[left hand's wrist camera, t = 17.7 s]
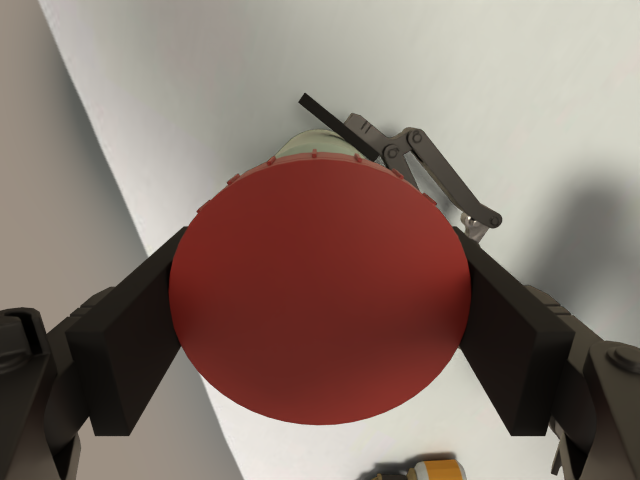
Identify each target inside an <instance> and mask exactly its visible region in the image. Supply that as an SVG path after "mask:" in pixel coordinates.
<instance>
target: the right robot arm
mask: <svg viewBox="0 0 640 480" xmlns="http://www.w3.org/2000/svg"><path fill="white" fill-rule="evenodd" d="M298 103H300V104H301V105H302V106H303V107H305V108H306V109H307V110H308V111H310V112H311V113H312V114H313V115H315V116H316V117H317V118H318V119H319V120H321V121H322V122H323V123H324V124H326V125H327V126H328V127H329V128H331V129H332V130H333V131H334V132H336V133H337V134H338V135H339V136H341V137H342V138H343V139H344V140H346V141H347V142H348V143H349V144H351V145H352V146H353V147H354V148H356V149H357V150H358V151H359V152H361V153H362V154H363V155H364V156H366V157H367V158H368V159H369V160H371V161H372V162H374V161H375V160H376V159H377V157H378V156H379V155H380V156H381V158H382V160H383V162H384V164H385V167H386V168H387V169H389V170H391V171H392V169H393V168H394V169H396V170H397V171H398V172H399V173H400V174H402V175H403V176H404V178H403V179H405V180H406V181H407V182H409V183H410V184H412V185H413V186H414V187H415V188H416V189H417V190H419V188H418V186H417V184H416V182H415V180H414V178H413V175H412V173H411V171H410V169H409V167H408V165H407V162H406V160H405V158H404V156H403V155H404V154H405V153H407V152H408V151H411V152H412V154H413V155H414V156H415V157H416V159H417V160H418V161H419V162H420V163H421V165H422V166H423V167H424V168H425V170H426V171H427V172H428V173H429V175H430V176H431V177H432V178H433V179H434V181H435V182H436V183H437V184H438V186H439V187H440V188H441V189H442V191H443V192H444V193H445V194H446V195H447V197H448V198H449V199H450V200H451V202H452V203H453V204H454V205H455V206H456V207H457V208H459V209H460V210H461V211H463V213H462V214H461V218H460V219H461V222H462V223H463V224H464V225H465V233H464V234H465V235H467V236H468V237H469V238H470V239H471V240H472V241H473V242H475V243H476V244H477V245H478V246H479V247H480V245H479V242H480V240H481V239H482V237H483V236H484V234H485V233H486V232H487V230H488V229H489V228H497V227H498V226H499V225H500V224H501V223H502V217H501V215H500V214H498V213H497V212H495V211H493V210H491V209H490V208H488V207H486V206H484V205H483V204H481V203H480V202H479V201H478V200H477V199H476V197H475V196H474V195H473V193H472V192H471V191H470V190H469V188H468V187H467V186H466V185H465V183H464V182H463V181H462V180H461V178H460V177H459V176H458V174H457V173H456V172H455V171H454V169H453V168H452V167H451V166H450V164H449V163H448V162H447V160H446V159H445V158H444V157H443V155H442V154H441V153H440V152H439V150H438V149H437V148H436V146H435V145H434V144H433V143H432V141H431V140H430V139H429V138H428V136H427V135H426V134H425V133H424V131H422V130H421V129H416V128H411V127H408V128H405V129H404V130H403V131H402V132H401V133H399V134H398V135H396V136H394V137H391V138H387V137H386V136H385V135H383V134H382V133H381V132H380V131H379V130H377V129H376V128H375V127H374V126H373V125H371V124H370V123H369V122H368V121H367V120H365V119H364V118H363V117H362V116H361V115H357V114H354V113H351V114H350V116H349V117H348V118H347V120H346V121H345V122H344V124H343V123H342V122H340V121H339V120H338V119H337V118H335V117H334V116H333V115H332V114H331V113H329V112H328V111H327V110H326V109H324V108H323V107H322V106H321V105H320V104H318V103H317V102H316V101H315V100H313V99H312V98H311V97H310V96H308V95H307V94H306V93H304V95H303V96H302V97H301V99H300V100H299V102H298ZM419 191H420V190H419ZM480 248H481V247H480ZM458 348H459V349H460V347H459V346H458ZM549 427H550V428H551V430H552V431H553V432H554V433H555V434H556V435H557V437H558V438H559V440H560V439H561V436H562V432H563V429H562V428H561V427H560V425H559V424H558V423H557V421H556V420H555V419H554V417H553V416H552V415H551V418H550V422H549Z"/></svg>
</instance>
